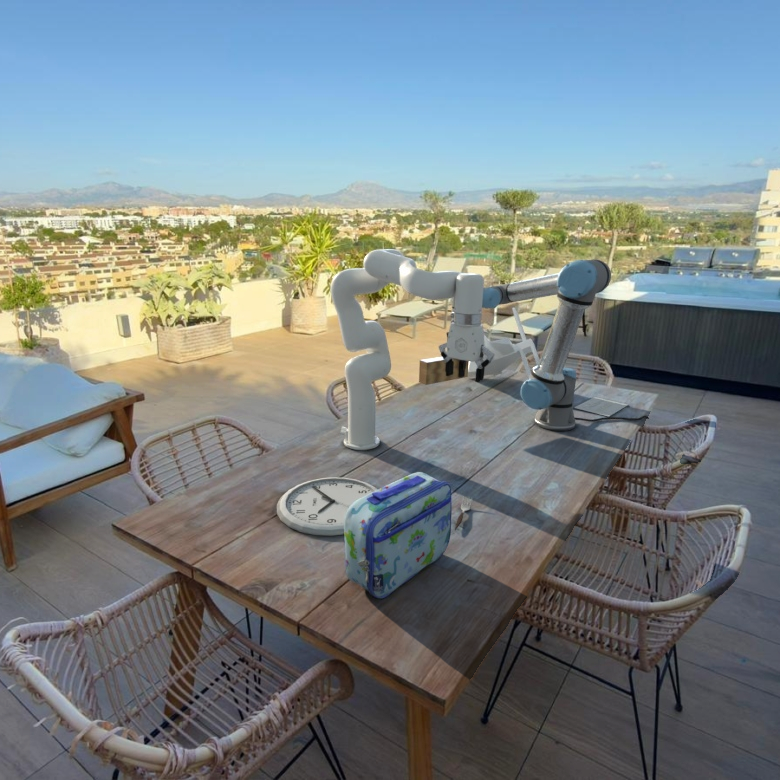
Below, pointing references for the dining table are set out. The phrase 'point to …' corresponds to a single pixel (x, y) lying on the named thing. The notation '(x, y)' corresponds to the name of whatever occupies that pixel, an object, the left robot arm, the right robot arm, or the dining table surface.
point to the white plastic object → (506, 353)
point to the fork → (464, 508)
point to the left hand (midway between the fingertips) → (463, 378)
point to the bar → (438, 370)
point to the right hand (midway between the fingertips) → (457, 375)
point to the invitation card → (601, 406)
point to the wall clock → (321, 504)
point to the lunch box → (397, 532)
